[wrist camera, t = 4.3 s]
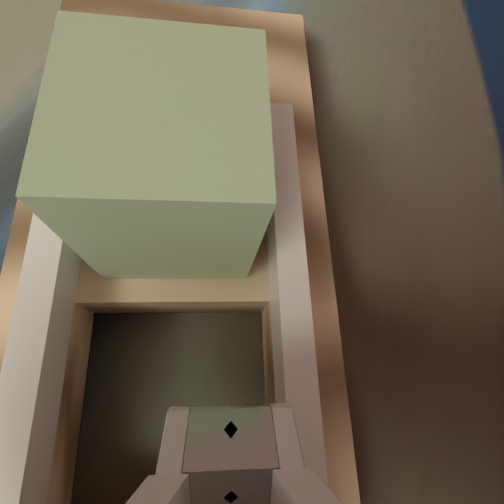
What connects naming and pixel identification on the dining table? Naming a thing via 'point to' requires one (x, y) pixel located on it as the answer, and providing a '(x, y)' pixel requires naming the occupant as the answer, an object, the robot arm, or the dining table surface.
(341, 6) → the dining table surface
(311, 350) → the channel rails
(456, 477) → the dining table surface
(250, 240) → the block
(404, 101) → the dining table surface
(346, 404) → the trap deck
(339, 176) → the dining table surface
